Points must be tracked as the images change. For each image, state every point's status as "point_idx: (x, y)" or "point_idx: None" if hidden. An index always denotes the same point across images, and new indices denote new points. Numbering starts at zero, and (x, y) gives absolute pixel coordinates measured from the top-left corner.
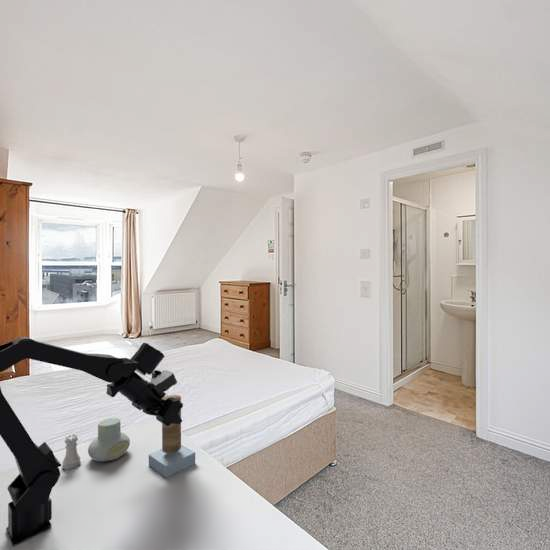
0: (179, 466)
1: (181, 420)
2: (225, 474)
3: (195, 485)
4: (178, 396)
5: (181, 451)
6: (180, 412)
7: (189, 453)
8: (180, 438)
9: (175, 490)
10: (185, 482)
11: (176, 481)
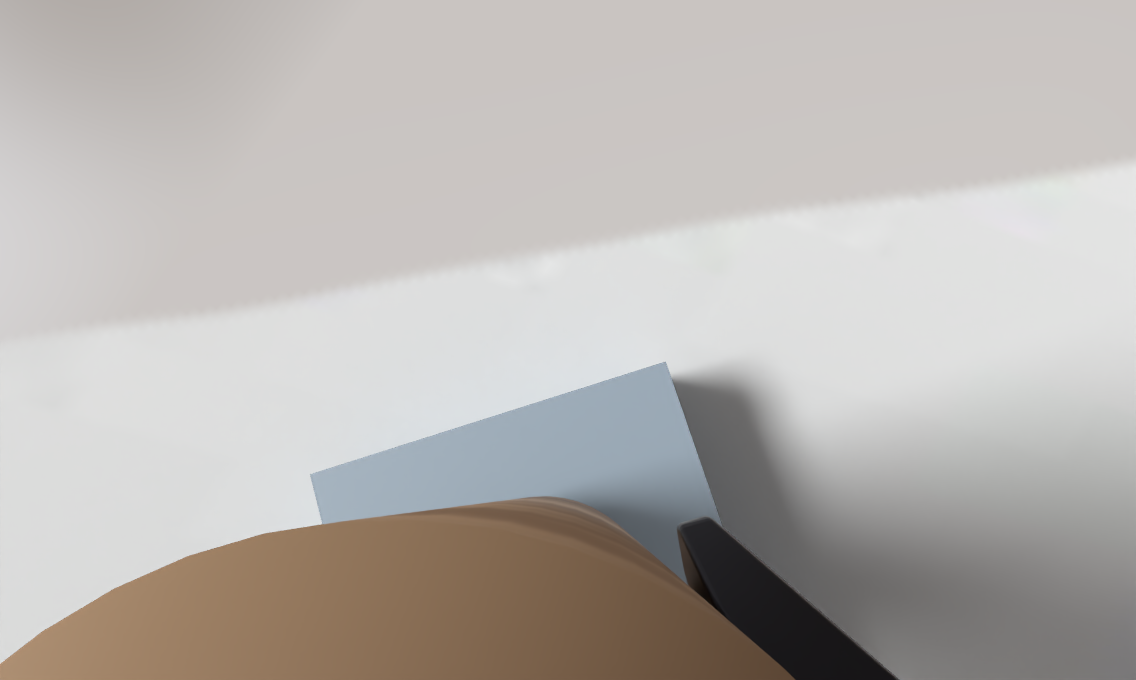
0: None
1: (726, 539)
2: (972, 206)
3: (1015, 488)
4: (351, 654)
5: (562, 491)
6: (642, 548)
7: (655, 423)
8: (614, 522)
9: (1009, 672)
10: (927, 554)
11: (871, 625)
